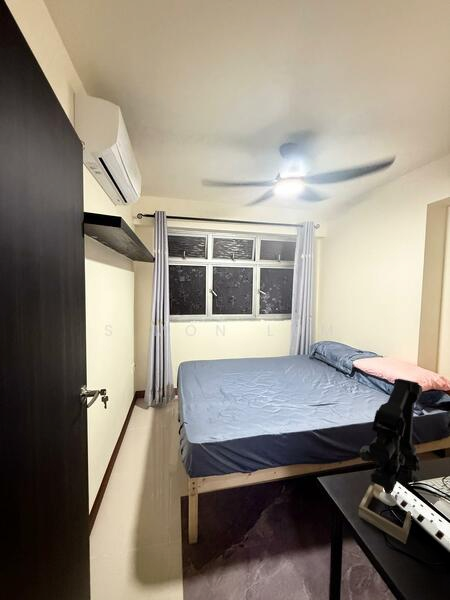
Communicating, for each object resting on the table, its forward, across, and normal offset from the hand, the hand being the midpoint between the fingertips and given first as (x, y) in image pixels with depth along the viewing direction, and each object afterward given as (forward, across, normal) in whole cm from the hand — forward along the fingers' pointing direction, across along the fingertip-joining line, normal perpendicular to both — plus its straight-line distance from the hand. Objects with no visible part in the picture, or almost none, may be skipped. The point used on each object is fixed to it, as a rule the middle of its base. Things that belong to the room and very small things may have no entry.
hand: (387, 491), depth 86 cm
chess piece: (+3, 0, 0) cm, 3 cm away
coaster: (+8, -7, -3) cm, 11 cm away
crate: (+8, +1, 0) cm, 8 cm away
